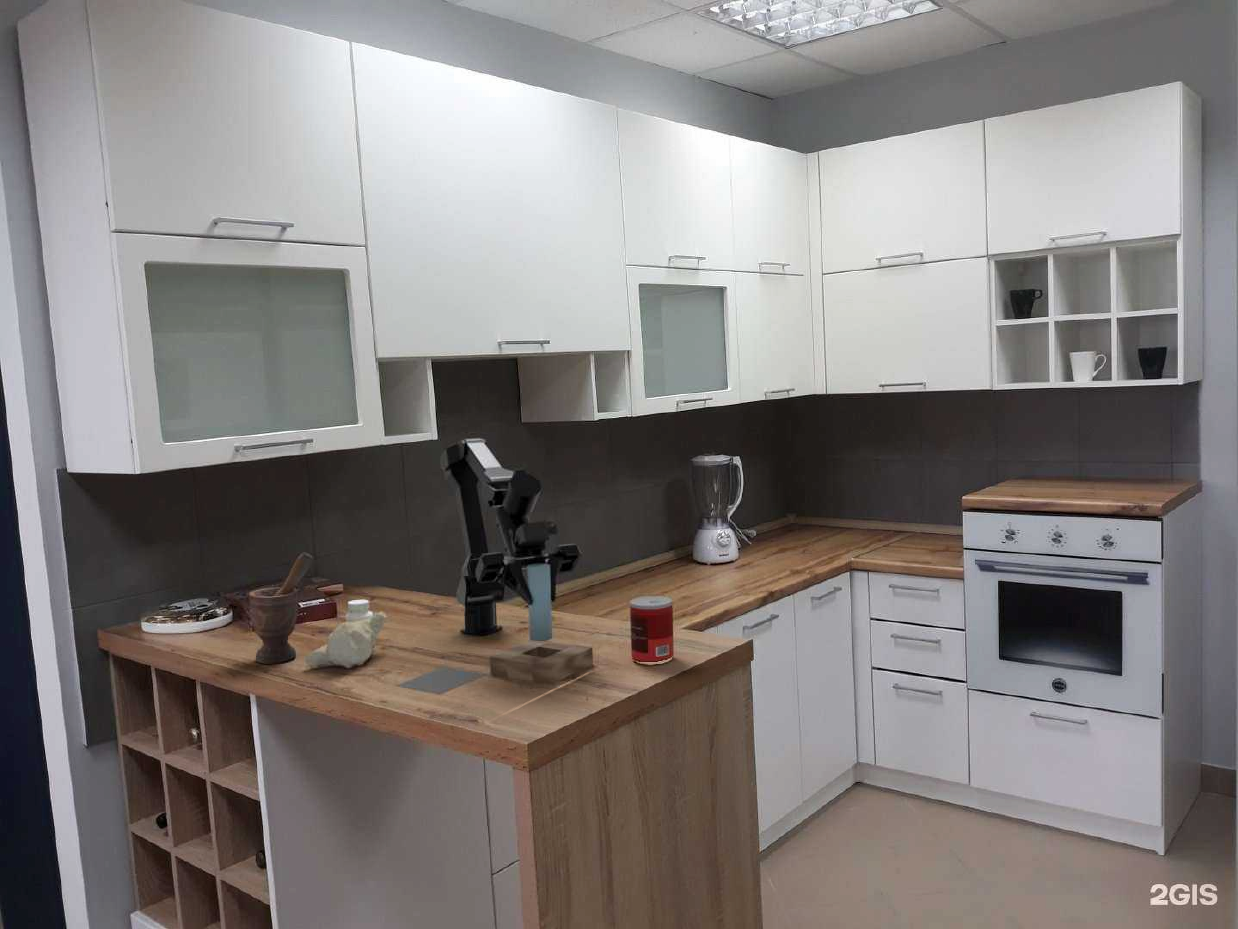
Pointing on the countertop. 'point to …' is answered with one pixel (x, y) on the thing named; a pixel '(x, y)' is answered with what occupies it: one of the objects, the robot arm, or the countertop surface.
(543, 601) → the light blue cylinder
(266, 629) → the mortar and pestle
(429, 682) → the mat
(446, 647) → the countertop surface
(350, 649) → the cream lumpy knobby chunk
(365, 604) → the supplement bottle
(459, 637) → the countertop surface
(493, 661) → the block
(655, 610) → the canned food
